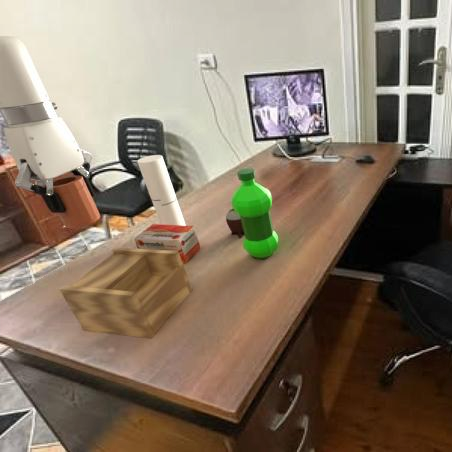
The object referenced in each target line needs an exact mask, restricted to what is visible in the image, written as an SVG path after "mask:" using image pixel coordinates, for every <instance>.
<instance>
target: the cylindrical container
mask: <svg viewBox="0 0 452 452" xmlns="http://www.w3.org/2000/svg"><path fill="white" fill-rule="evenodd" d="M136 163H137V165H138V168H139V170H140V173H141V177H142V178H143V180H144V184H145V186H146V189H147V192H148V194H149V197H150V200H151V202H152V205H153V208H154V210H155V213H156V215H157V218H158V221H159V225H181V226H187V224H186V222H185V220H184V216H183V214H182V211H181V207H180V205H179V201H178V198H177V196H176V193H175V189H174V187H173V183H172V181H171V177H170V174H169V172H168V168H167V166H166V162H165V160H164V157H163V155H161V154H154V155H153V154H152V155H148V156H143V157H141V158H139V159H137V161H136Z"/></svg>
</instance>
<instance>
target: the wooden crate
mask: <svg viewBox="0 0 452 452" xmlns="http://www.w3.org/2000/svg"><path fill="white" fill-rule="evenodd" d="M111 252H112V254H110V255H109V256H108V257H106V258H105V259H104V260H102V261H101V262H100V263H98V264H97V265H96V266H95V267H93V268H92V269H90V270H89V271H88V272H87V273H85V274H84V275H82V276H81V277H80V278H78V279H77V280H76V281H75V282H73V283H72V284H71V285H62V286H60V288H58V290H59V292H60V294H61V295H62V297H63V299H64V300H65V302H66V303H67V306H68V307H69V309H70V310H71V312H72V314H73V315H74V317H75V318H76V321H77V322H78V324H79V325H80V327H81V328H82V330H83V331H86V332H87V331H88V332H94V333H95V332H96V333H102V334H103V333H104V334H112V335H119V336H127V337H135V338H144V339H152V338H153V337H154V336H155V335H156V334H157V333H158V332H159V330H160V329H161V328H162V327H163V325H165V323H166V322H167V321H168V320H169V319H170V317H171V316H172V315H173V314H174V313H175V312H176V310H177V309H178V308H179V307H180V306H181V305H182V303H183V302H184V301H185V300H186V299H187V297H189V296H190V294H191V293H192V292H193V288H192V285H191V283H190V280H189V277H188V274H187V272H186V268H185V266H184V263H182V260H181V257H180V255H179V252H178V251H169V250H151V249H138V248H134V247H133V248H132V247H131V248H130V247H114V248H113V249H111Z"/></svg>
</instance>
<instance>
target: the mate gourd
mask: <svg viewBox="0 0 452 452" xmlns="http://www.w3.org/2000/svg"><path fill="white" fill-rule="evenodd" d="M225 221H226V222H225V223H226V225H227V226H228V229H229V230H230V234H231V235H232V236H234V235H238V239H241V238H242V237H243V234H244V230H243V226H242V222H241V218H240V215H239V214H238V213H236V212H235V211H234V209H233V208H230V209H229V210H228V211H227V213H226V215H225Z"/></svg>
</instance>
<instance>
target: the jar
mask: <svg viewBox="0 0 452 452" xmlns="http://www.w3.org/2000/svg"><path fill="white" fill-rule="evenodd" d="M44 188H45V186H44ZM53 193H57V194H58V195H59V197H60V199H61V200H62V202H63V204H64V206H65V208H66V212H64V213H57V214H58V216H59V218H60V220H61V221H62V224H63V225H64V227H65V228H66V229H71V230H72V229H79V228H83V227H86V226H89V225H91V224H93V223H95V222H97V221H99V220H100V218H101V214H100V212H99V210H98V208H97V205H96V203H95V201H94V198H93V197H92V196H91V194H90V192H89V190H88V188H87V186H86V184H85V181H84V179H83V177H82V176H80V175H74V176H73V175H68V176H64V177H59V178H56V179H53Z"/></svg>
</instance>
